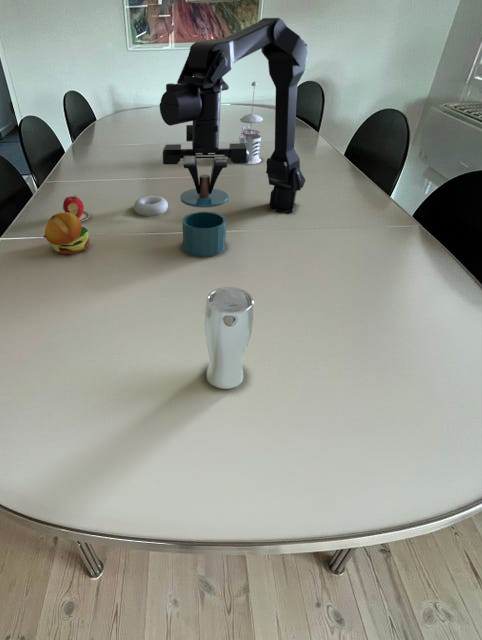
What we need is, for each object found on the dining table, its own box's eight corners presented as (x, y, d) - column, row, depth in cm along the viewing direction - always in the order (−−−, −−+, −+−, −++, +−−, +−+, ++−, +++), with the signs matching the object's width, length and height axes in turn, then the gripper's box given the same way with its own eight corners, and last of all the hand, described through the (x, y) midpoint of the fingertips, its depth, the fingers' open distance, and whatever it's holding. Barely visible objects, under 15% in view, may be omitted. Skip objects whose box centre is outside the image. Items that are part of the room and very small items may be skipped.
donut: (130, 218, 117) (164, 219, 115) (128, 206, 115) (163, 207, 113) (139, 205, 124) (171, 205, 122) (138, 193, 122) (170, 194, 120)
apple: (95, 217, 118) (91, 194, 113) (73, 226, 113) (68, 203, 109) (79, 210, 122) (74, 188, 118) (56, 219, 118) (51, 196, 113)
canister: (229, 241, 104) (231, 214, 99) (217, 259, 96) (218, 231, 92) (191, 235, 107) (191, 209, 102) (176, 253, 100) (176, 226, 95)
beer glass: (200, 363, 69) (202, 287, 59) (241, 360, 70) (249, 284, 60) (206, 393, 64) (209, 315, 54) (250, 389, 64) (260, 311, 54)
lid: (233, 195, 99) (235, 171, 95) (219, 212, 91) (221, 186, 87) (190, 190, 102) (190, 166, 98) (172, 206, 94) (172, 181, 91)
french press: (265, 158, 155) (273, 80, 139) (252, 167, 148) (260, 85, 132) (242, 155, 159) (247, 78, 143) (228, 163, 152) (232, 83, 136)
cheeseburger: (99, 239, 106) (89, 206, 98) (81, 267, 101) (69, 234, 93) (65, 234, 109) (52, 201, 101) (46, 261, 103) (31, 229, 95)
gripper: (247, 109, 91) (241, 181, 101) (164, 110, 92) (166, 182, 102) (252, 120, 82) (245, 197, 93) (161, 121, 83) (164, 198, 93)
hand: (204, 193), depth 95 cm, fingers closed on lid, 2 cm apart
